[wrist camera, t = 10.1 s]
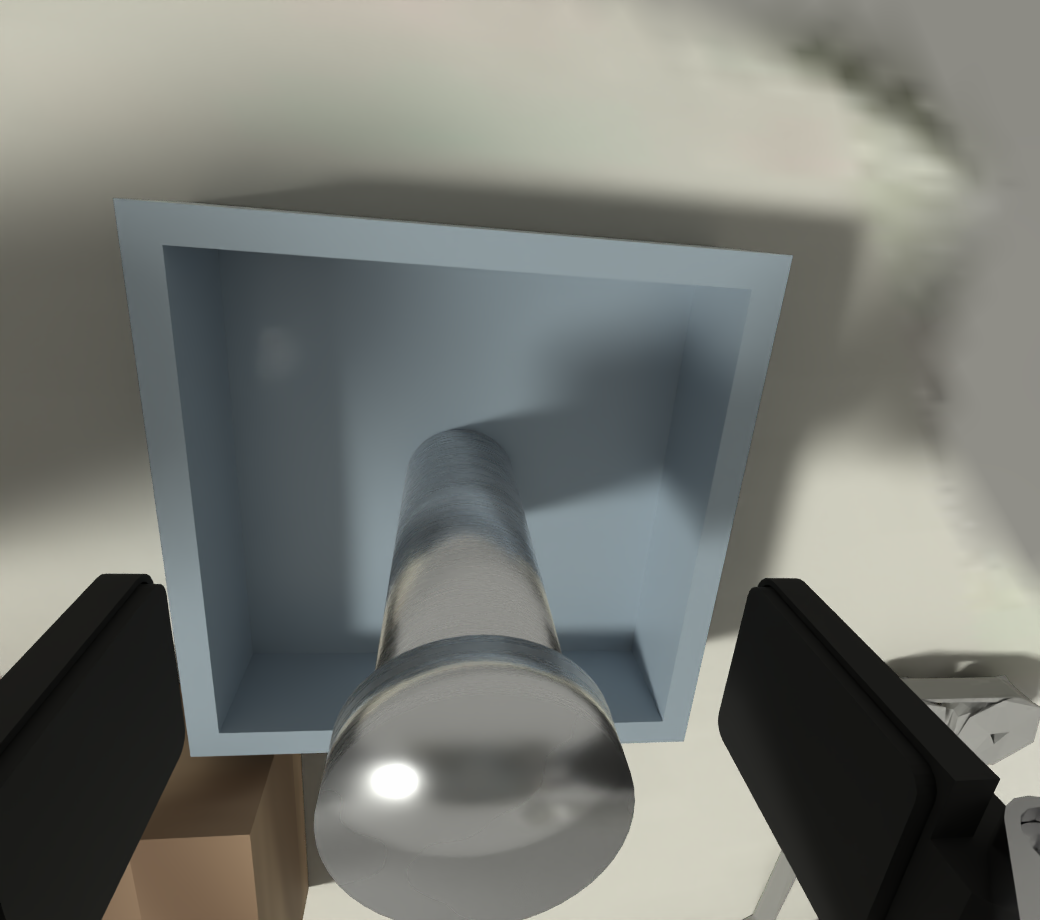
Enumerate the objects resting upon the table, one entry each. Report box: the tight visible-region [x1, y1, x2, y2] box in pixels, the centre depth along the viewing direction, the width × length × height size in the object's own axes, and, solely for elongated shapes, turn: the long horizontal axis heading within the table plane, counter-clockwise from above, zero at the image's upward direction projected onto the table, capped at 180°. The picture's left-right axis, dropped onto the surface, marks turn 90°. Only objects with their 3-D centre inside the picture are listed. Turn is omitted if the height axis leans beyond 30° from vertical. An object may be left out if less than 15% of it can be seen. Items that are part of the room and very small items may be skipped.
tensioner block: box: [102, 684, 309, 920], centre depth 17 cm, size 9×9×5 cm
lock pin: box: [314, 429, 635, 920], centre depth 12 cm, size 4×4×10 cm
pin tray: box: [113, 198, 793, 757], centre depth 15 cm, size 12×12×4 cm
